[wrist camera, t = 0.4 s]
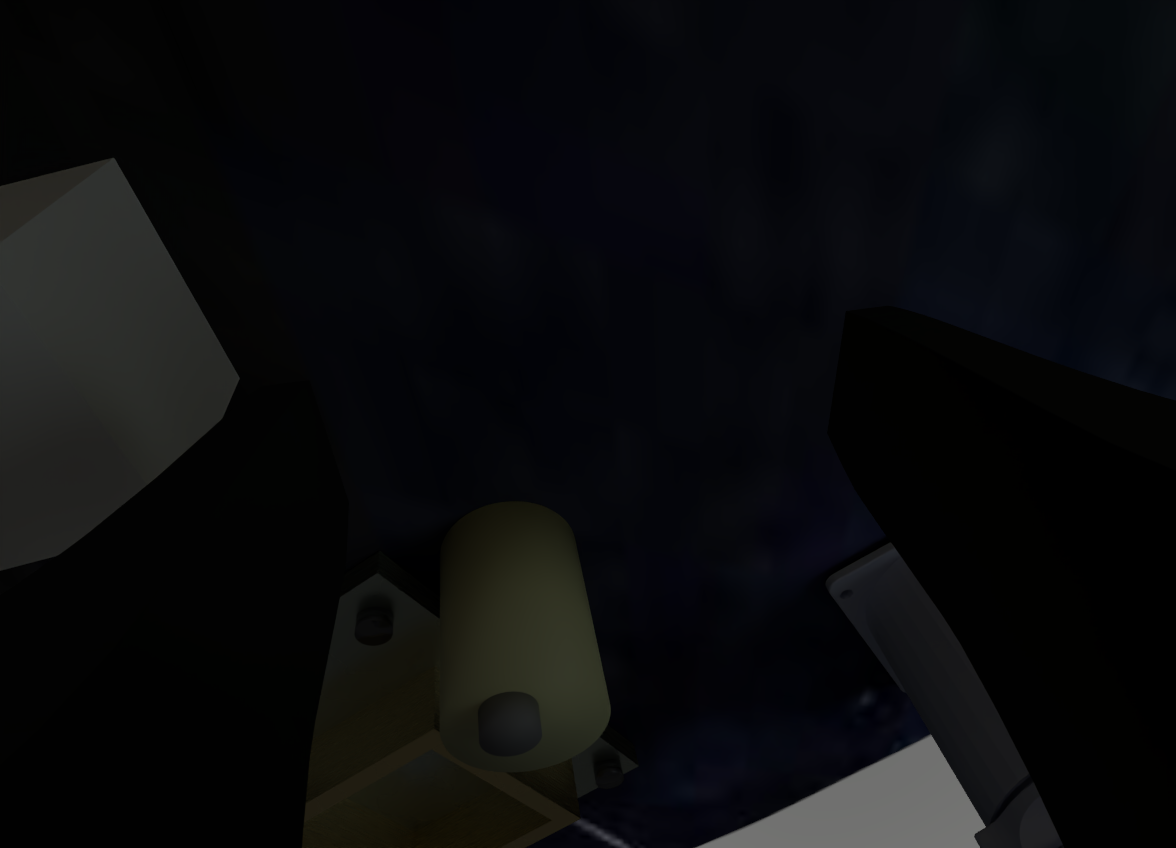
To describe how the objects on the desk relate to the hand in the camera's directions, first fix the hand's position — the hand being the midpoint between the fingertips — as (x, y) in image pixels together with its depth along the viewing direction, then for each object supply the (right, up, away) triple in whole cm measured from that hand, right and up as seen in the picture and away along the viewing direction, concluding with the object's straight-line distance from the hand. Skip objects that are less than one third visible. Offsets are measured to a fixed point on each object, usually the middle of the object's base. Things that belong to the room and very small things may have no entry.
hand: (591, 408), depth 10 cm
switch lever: (-3, -5, +15) cm, 16 cm away
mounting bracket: (-7, -13, +20) cm, 24 cm away
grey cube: (-13, +3, +8) cm, 16 cm away
